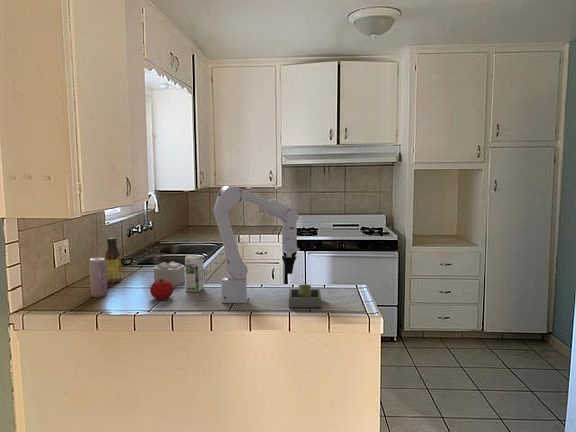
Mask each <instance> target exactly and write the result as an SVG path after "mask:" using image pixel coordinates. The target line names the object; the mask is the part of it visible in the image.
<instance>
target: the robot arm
mask: <svg viewBox="0 0 576 432" xmlns="http://www.w3.org/2000/svg"><path fill="white" fill-rule="evenodd" d="M245 201H246V202H249V203H251V204H253V205H256V206H258V207H260V208H263V210H264V212H265V213H266V214H267V215H270V216H272V217H275V218H277V219H279V220H281V221H282V222H281V223H282V226H281V230H282V231H281V237H282V238H281V239H282V244H281V245H282V246H281V251H282V254H283V255H282V256H281V259H282V261H283V263H284V267H285V273H286V275H292V274H293V271H294V264H295V262H296V259H297V256H296V255H297V254H298V252H299V251H300V247H299V248H298V246H297V245H298V243H297V235H298V234H297V233H298V232H297V230H298V229H297V226H298V225H297V222H298V221H299V218H300V215H299V213H298V211H297V209H295V208H292V207H289V205H288V204H286V203H285V204H283V203H282V202H279V200H278V199H277V198H271V199H268V200H267V199H265V198H263V197H260V196H259V195H257V194H254V193H252V192H251V191H248V190H246V189H242V188H238V187H236V186H231V185H223V187H221V188H220V190H219V191H218V192H217V195H216V200H215V203H214V207H213V214H214V218H215V221H216V224H217V228H218V231H219V232H218V233H219V235H220V238H221V241H222V245H223V248H224V251H225V258H226V271H228V275H227V276H226V277H222V279H221V303H222V304H246V303H248V300H249V298H250V296H249V295H248V291H247V289H248V288H247V287H248V285H247V274H248V270H249V269H248V267H247V265H246V264H245V263H244V260H243V258H242V256H241V254H240V251H239V248H238V244H237V242H236V237H235V234H234V231H233V228H232V223H231V219H230V218H229V217H230V216H229V212H230V210H231V209H232V207H233V206H235V205H236V204H237V203H238V202H245Z"/></svg>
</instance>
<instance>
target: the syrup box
mask: <svg viewBox="0 0 576 432" xmlns="http://www.w3.org/2000/svg"><path fill="white" fill-rule="evenodd" d="M184 273H185V291H186V292H192V293H193V292H195V293H199V292H201V291H202V290H204V288H205V286H204V285H205V284H204V280H205V279H204V255H197V254H196V255H195V254H190V255H187V256H185V257H184Z"/></svg>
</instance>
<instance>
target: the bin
mask: <svg viewBox="0 0 576 432" xmlns="http://www.w3.org/2000/svg"><path fill="white" fill-rule="evenodd" d="M288 309H289V310H296V309H297V310H300V309H301V310H302V309H303V310H311V309H312V310H321V309H322V295H321V288H311V297H299V288H289V295H288Z"/></svg>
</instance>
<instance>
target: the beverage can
mask: <svg viewBox="0 0 576 432" xmlns="http://www.w3.org/2000/svg"><path fill="white" fill-rule="evenodd" d="M88 265H89V279H90V295H91V297H93V298H102V297H105V296H107V294H108V279H107V271H106V257H93V258H90V259H89V262H88Z"/></svg>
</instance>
